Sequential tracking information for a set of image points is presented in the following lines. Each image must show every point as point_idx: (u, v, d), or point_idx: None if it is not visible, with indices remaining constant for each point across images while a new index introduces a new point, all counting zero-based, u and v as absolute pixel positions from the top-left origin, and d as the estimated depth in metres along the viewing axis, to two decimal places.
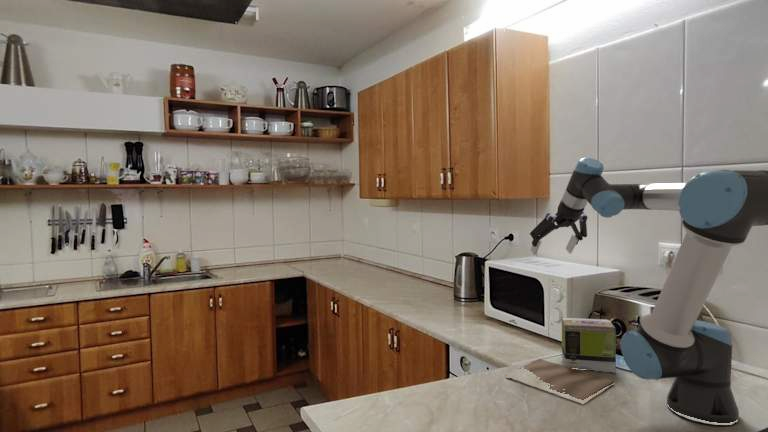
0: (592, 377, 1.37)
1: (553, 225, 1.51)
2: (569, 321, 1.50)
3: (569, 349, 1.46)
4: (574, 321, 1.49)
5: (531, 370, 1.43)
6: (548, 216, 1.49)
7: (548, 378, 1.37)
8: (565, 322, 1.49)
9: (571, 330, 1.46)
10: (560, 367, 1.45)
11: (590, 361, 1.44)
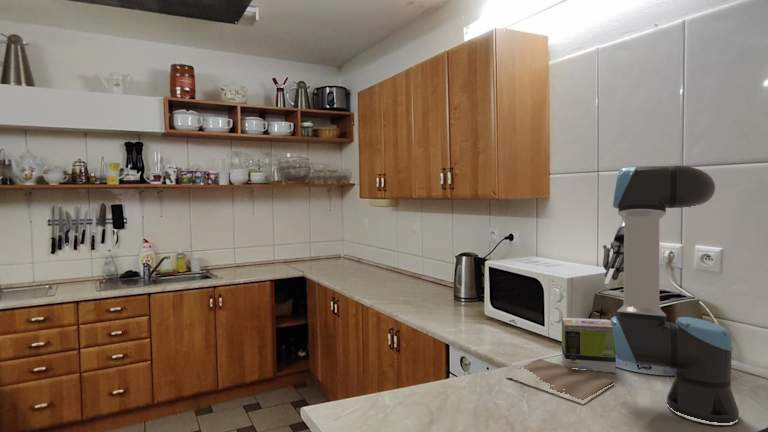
0: (592, 377, 1.37)
1: None
2: (569, 321, 1.50)
3: (569, 349, 1.46)
4: (574, 321, 1.49)
5: (531, 370, 1.43)
6: None
7: (548, 378, 1.37)
8: (565, 322, 1.49)
9: (571, 330, 1.46)
10: (560, 367, 1.45)
11: (590, 361, 1.44)
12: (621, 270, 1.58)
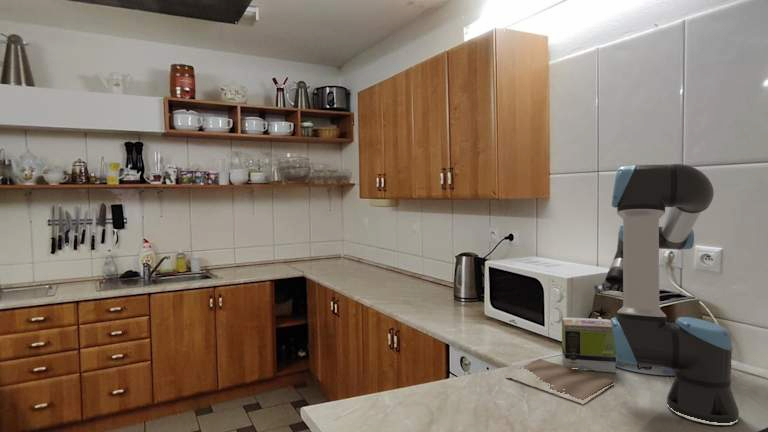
0: (592, 377, 1.37)
1: None
2: (569, 321, 1.49)
3: (569, 349, 1.46)
4: (574, 321, 1.49)
5: (531, 370, 1.43)
6: None
7: (548, 378, 1.37)
8: (565, 322, 1.49)
9: (571, 330, 1.46)
10: (560, 367, 1.45)
11: (590, 361, 1.44)
12: None
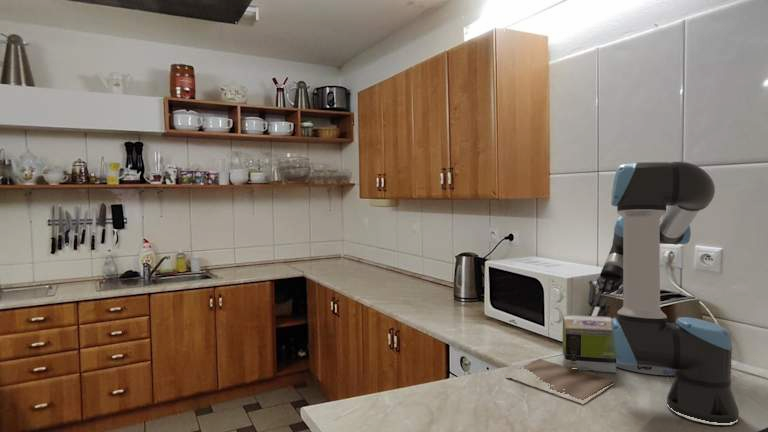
0: (592, 377, 1.37)
1: None
2: (570, 322, 1.47)
3: (569, 351, 1.45)
4: (575, 322, 1.46)
5: (531, 370, 1.43)
6: None
7: (548, 378, 1.37)
8: (566, 323, 1.46)
9: (572, 333, 1.43)
10: (560, 367, 1.45)
11: (590, 362, 1.44)
12: None
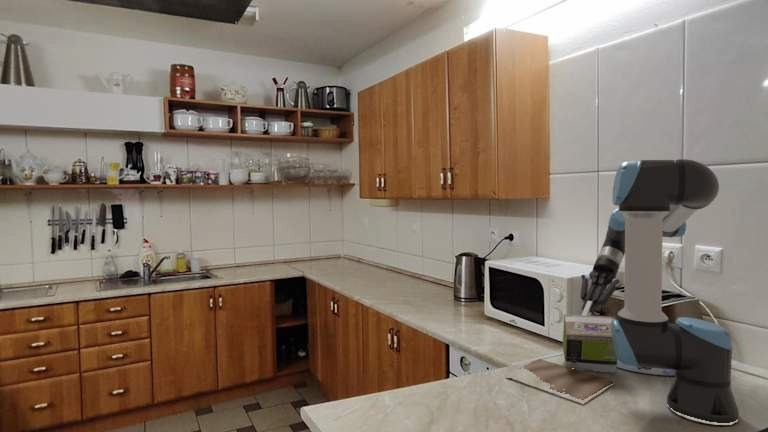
0: (592, 377, 1.37)
1: None
2: (571, 325, 1.43)
3: (570, 354, 1.43)
4: (577, 325, 1.43)
5: (531, 370, 1.43)
6: None
7: (548, 378, 1.37)
8: (567, 328, 1.43)
9: (573, 339, 1.40)
10: (560, 367, 1.45)
11: (590, 364, 1.43)
12: (599, 303, 1.50)
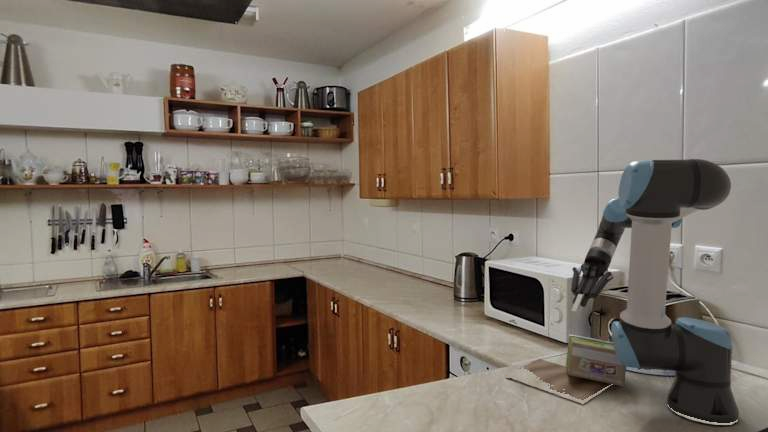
0: None
1: None
2: (576, 362, 1.33)
3: None
4: (582, 363, 1.33)
5: (531, 370, 1.43)
6: None
7: (548, 378, 1.37)
8: (571, 365, 1.34)
9: None
10: (560, 367, 1.45)
11: None
12: (590, 296, 1.44)
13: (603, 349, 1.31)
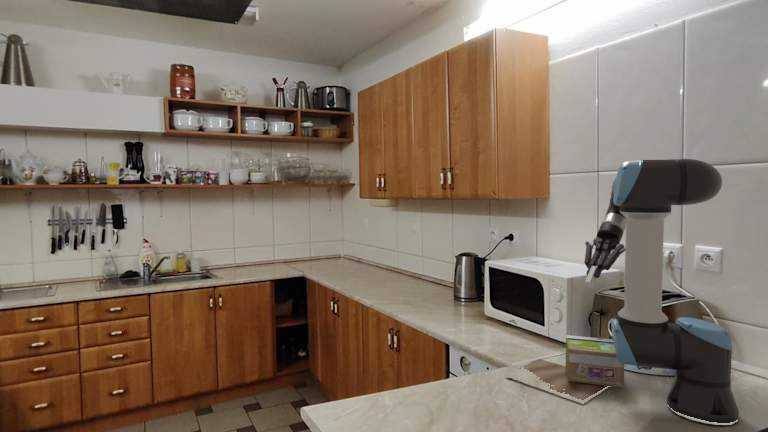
0: None
1: None
2: (575, 368, 1.33)
3: None
4: (580, 369, 1.32)
5: (531, 370, 1.43)
6: None
7: (548, 378, 1.37)
8: (569, 371, 1.33)
9: None
10: (560, 367, 1.45)
11: None
12: (603, 268, 1.49)
13: (600, 353, 1.31)
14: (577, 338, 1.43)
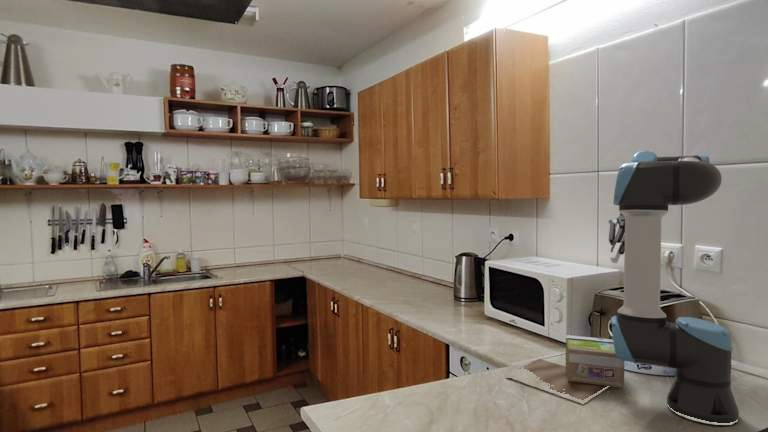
0: None
1: None
2: (575, 368, 1.33)
3: None
4: (580, 369, 1.32)
5: (531, 370, 1.43)
6: (609, 223, 1.62)
7: (548, 378, 1.37)
8: (570, 371, 1.33)
9: None
10: (560, 367, 1.45)
11: None
12: None
13: (600, 353, 1.31)
14: (577, 338, 1.43)
